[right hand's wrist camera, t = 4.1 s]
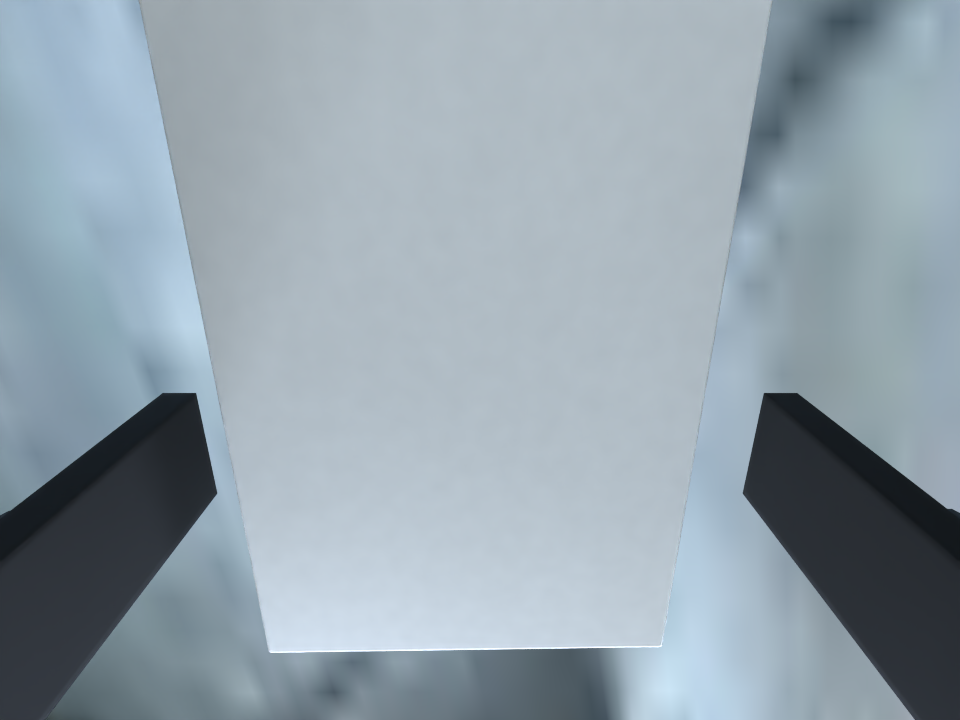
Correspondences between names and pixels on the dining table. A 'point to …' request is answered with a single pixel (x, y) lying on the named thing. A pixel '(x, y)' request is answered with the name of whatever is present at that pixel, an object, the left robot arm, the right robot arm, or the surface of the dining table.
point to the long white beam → (459, 299)
